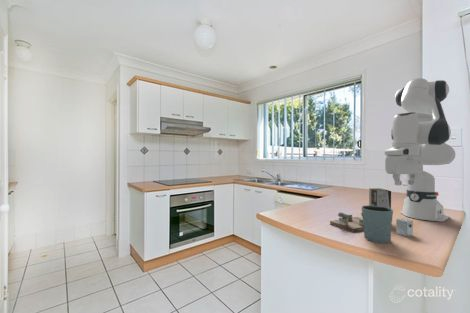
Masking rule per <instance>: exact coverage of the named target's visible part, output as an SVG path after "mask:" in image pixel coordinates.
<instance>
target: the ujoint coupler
mask: <svg viewBox="0 0 470 313" xmlns="http://www.w3.org/2000/svg"><path fill="white" fill-rule="evenodd" d="M395 224H396V225H395V226H396V230H395V231H396V232H395V233H396V234H397V235H399V234H400V236H403V237H406V236H407V238H408V236H409V237H412V235H413V236H414V220H411V219H406V218H401V217H400V218H397V219H396V222H395Z"/></svg>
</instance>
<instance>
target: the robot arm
mask: <svg viewBox="0 0 470 313" xmlns="http://www.w3.org/2000/svg"><path fill="white" fill-rule="evenodd" d="M449 93H450V86H449V84H448V83H447V81H446V80H443V79H442V80H441V79H440V80H435V81H428V80H427V79H425V78H421V77H418V78H417V77H416V78H414V79H412V80H410V81H408V82H407V83H406V85H405V87H402V88H399V89H398V90H397V91H396V92H395V95H394V101H395V103H396V105H397V106H398V107H401V108H402V109H403V110H404V111H406V112H404V113H403V112H401V113H398V114H397V113H396V114H395V115H394V116H393V122H392V127H391V128H392V129H391V140H392V142H391V147H390V148H389V147H388V148H387V149H385V151H384V155H385V159H384V160H385V161H384V162H385V164H384V165H385V166H384V170H385V172H386V173H387V174H388V175H392V178H393V181H394V186H397V187H398V186H402V185H403V184H402V183H403V182H402V180H401V178H400V177H401V175H406V180H407V181H406V182H407V189H406V192H405V193H406V197H405V198H404V199H403V206H402V210H400V214H403V216H405V217H409V218H412V219H415V220H422V221H423V220H424V221H433V222H442V223H443V222H445V221H447V220H449V218H450V215H448V214H444V206H443V205H442V203H441V202H440V201H439V200H438V196H439V195H440V194H439V192H438V191H436V190H435V188H436V187H435V186H436V185H435V184H436V181H435V180H436V178H435V177H434V175H433V174H432V173H430V172H428V171H425V170H424V166H443V165H450V164H451V163H452V162H453V161H454V160H455V159H456V151H455V149H454V148H453V147H452V146H451V145H449V144H448V143H447V142H448V141H449V140H450V138H451V135H452V132H451V127H450V125H449V123H448V121H447V118H446V115H445V112H444V109H443V106H442V102H443V101H444V100H445V99H446V98H447V97H448V94H449Z"/></svg>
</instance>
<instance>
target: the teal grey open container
mask: <svg viewBox="0 0 470 313" xmlns="http://www.w3.org/2000/svg"><path fill="white" fill-rule="evenodd" d="M361 213H362V215H361V217H362V216H363V225H364V230H363V237H364V238H365V239H366V240H367V239H368V241H370V242H374V243H378V244H389V243H390V242H391V239H392V227H393V226H392V223H393V215H394V209H392V208H391V209H390V208H387V207H382V206H371V205H369V204H368V205H362V206H361Z"/></svg>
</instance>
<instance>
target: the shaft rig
mask: <svg viewBox="0 0 470 313" xmlns="http://www.w3.org/2000/svg"><path fill="white" fill-rule="evenodd" d="M337 216H338V219H334V220H330V222H329V223H330V224H329V225H332V226H334V227H338V228H340V229H343V230H345V231H349V232H352V233H358V232H362V231H363V232H364V225H363V216H362V212H361V217H359V216H353V214H352V213H350V214H349V213H348V214H347V213H343V212H341V211H339V212H338V215H337Z"/></svg>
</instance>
